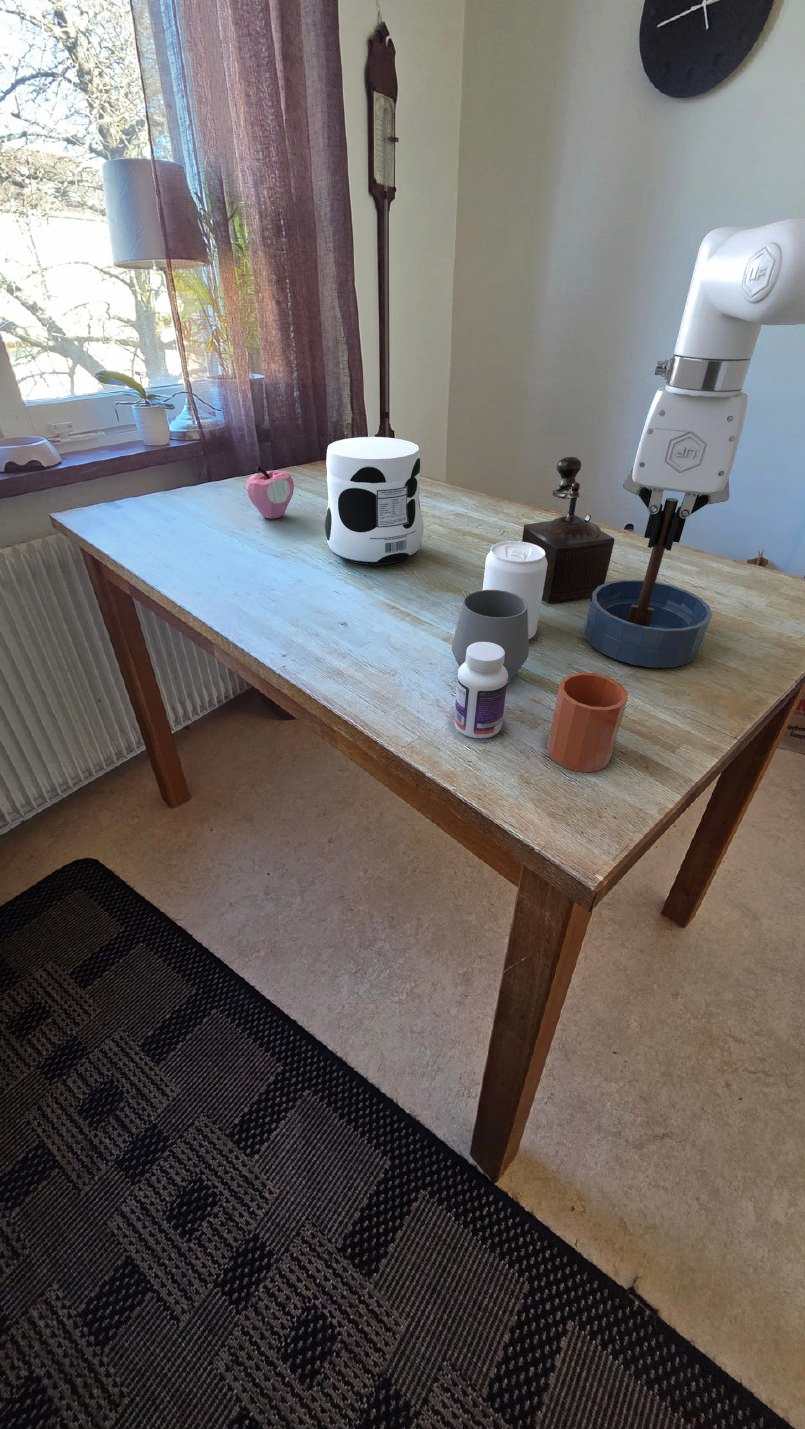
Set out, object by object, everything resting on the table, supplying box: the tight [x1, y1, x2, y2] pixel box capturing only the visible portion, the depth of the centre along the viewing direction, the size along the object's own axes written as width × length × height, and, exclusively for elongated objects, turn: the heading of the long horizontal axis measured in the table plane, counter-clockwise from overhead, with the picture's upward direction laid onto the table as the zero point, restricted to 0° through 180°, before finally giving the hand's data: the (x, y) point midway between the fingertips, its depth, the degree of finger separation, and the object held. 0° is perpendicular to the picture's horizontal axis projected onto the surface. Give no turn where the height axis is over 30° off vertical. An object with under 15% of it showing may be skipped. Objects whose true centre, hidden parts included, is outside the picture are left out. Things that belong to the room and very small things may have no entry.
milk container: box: [324, 436, 425, 566], centre depth 103 cm, size 17×17×18 cm
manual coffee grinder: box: [521, 456, 615, 604], centre depth 95 cm, size 16×11×18 cm
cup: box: [451, 589, 530, 682], centre depth 74 cm, size 10×9×10 cm
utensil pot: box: [546, 671, 628, 773], centre depth 62 cm, size 7×7×8 cm
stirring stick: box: [627, 497, 679, 627], centre depth 77 cm, size 3×1×18 cm, turn 67°
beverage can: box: [482, 540, 548, 640], centre depth 82 cm, size 8×8×12 cm
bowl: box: [583, 579, 713, 669], centre depth 82 cm, size 15×15×6 cm
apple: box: [245, 464, 295, 519], centre depth 121 cm, size 10×9×10 cm
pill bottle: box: [454, 642, 509, 739], centre depth 65 cm, size 5×5×10 cm
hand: (660, 544), depth 74 cm, fingers closed on stirring stick, 1 cm apart
